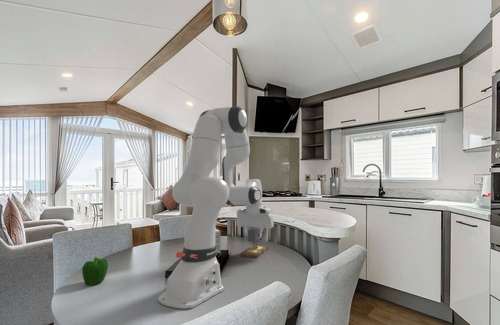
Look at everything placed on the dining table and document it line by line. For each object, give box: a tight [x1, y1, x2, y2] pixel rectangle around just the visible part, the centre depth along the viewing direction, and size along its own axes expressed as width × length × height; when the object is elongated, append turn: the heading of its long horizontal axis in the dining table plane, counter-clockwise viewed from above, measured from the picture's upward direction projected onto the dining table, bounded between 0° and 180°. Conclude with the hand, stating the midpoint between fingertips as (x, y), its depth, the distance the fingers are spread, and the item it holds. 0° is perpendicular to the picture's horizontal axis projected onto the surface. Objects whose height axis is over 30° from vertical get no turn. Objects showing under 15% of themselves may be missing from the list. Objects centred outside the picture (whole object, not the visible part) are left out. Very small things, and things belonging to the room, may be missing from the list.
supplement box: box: [215, 228, 221, 254], centre depth 122 cm, size 7×7×13 cm
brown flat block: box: [240, 240, 269, 259], centre depth 125 cm, size 16×9×6 cm, turn 156°
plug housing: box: [247, 227, 263, 242], centre depth 126 cm, size 9×4×6 cm, turn 156°
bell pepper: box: [81, 256, 109, 286], centre depth 92 cm, size 8×8×10 cm
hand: (254, 236), depth 126 cm, fingers closed on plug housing, 4 cm apart
